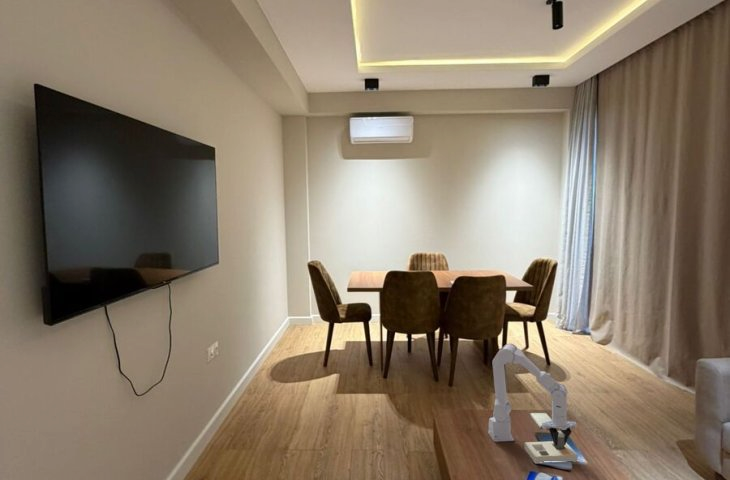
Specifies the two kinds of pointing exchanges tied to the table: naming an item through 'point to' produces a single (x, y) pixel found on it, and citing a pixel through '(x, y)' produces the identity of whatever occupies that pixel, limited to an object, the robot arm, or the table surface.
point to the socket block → (549, 452)
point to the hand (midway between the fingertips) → (559, 443)
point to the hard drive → (540, 418)
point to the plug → (560, 441)
